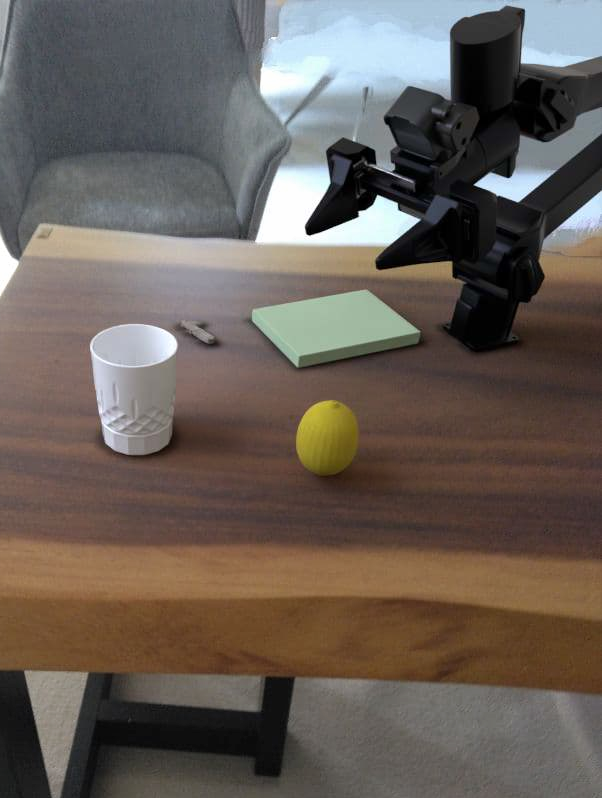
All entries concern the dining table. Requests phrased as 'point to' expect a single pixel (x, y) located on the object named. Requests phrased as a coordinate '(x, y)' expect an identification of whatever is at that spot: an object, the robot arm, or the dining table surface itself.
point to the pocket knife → (197, 331)
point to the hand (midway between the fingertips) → (340, 247)
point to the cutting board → (334, 327)
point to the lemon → (327, 438)
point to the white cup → (135, 386)
